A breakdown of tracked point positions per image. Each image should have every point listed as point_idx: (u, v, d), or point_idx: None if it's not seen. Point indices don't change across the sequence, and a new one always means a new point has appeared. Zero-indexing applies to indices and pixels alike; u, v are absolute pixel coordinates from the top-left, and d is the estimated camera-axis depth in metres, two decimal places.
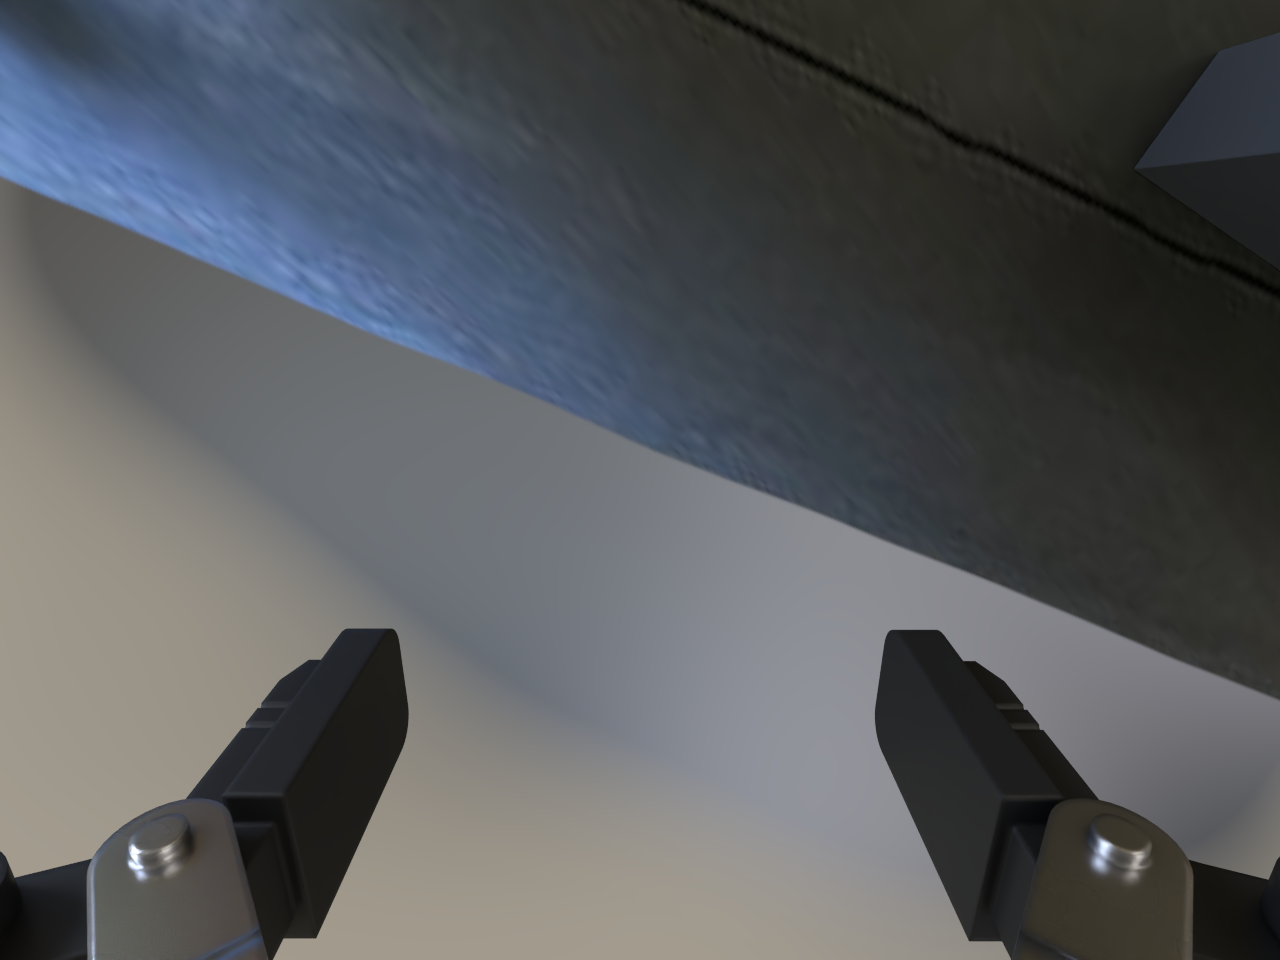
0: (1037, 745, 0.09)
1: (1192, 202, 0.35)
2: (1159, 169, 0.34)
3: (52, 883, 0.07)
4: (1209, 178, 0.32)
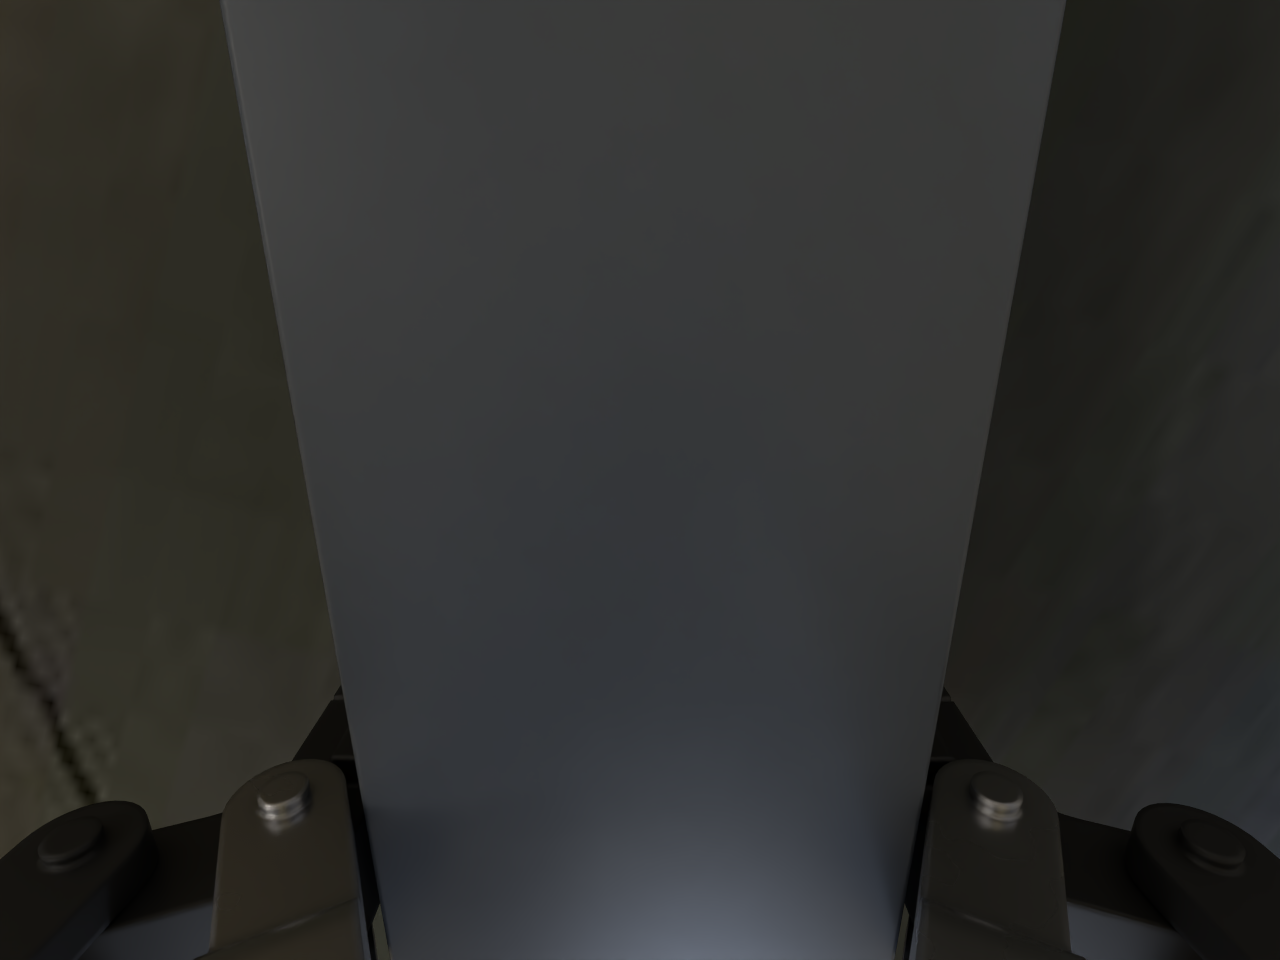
0: (945, 715, 0.09)
1: None
2: None
3: (180, 836, 0.08)
4: None
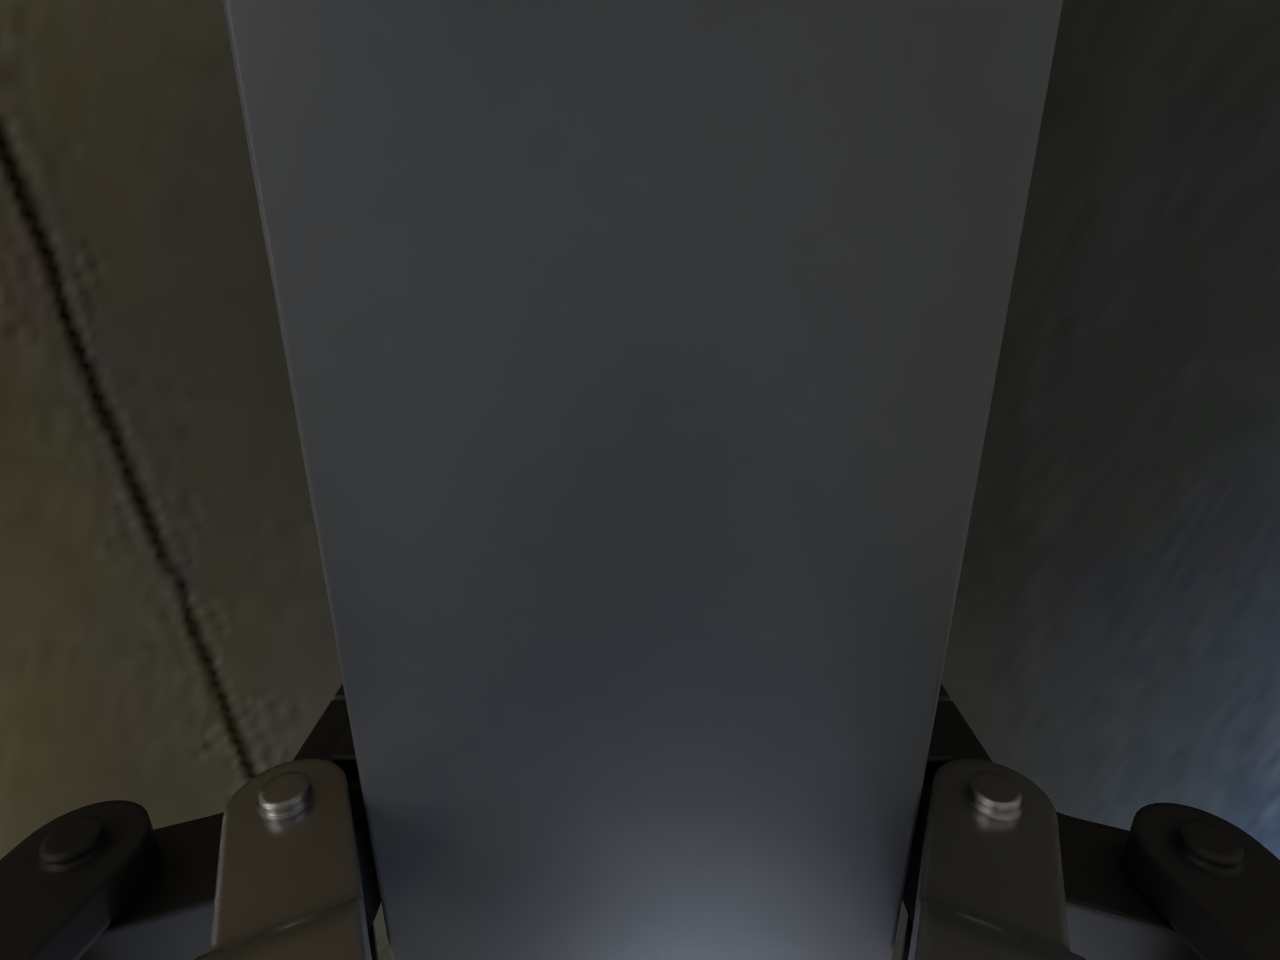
0: (944, 715, 0.09)
1: None
2: None
3: (181, 836, 0.08)
4: None
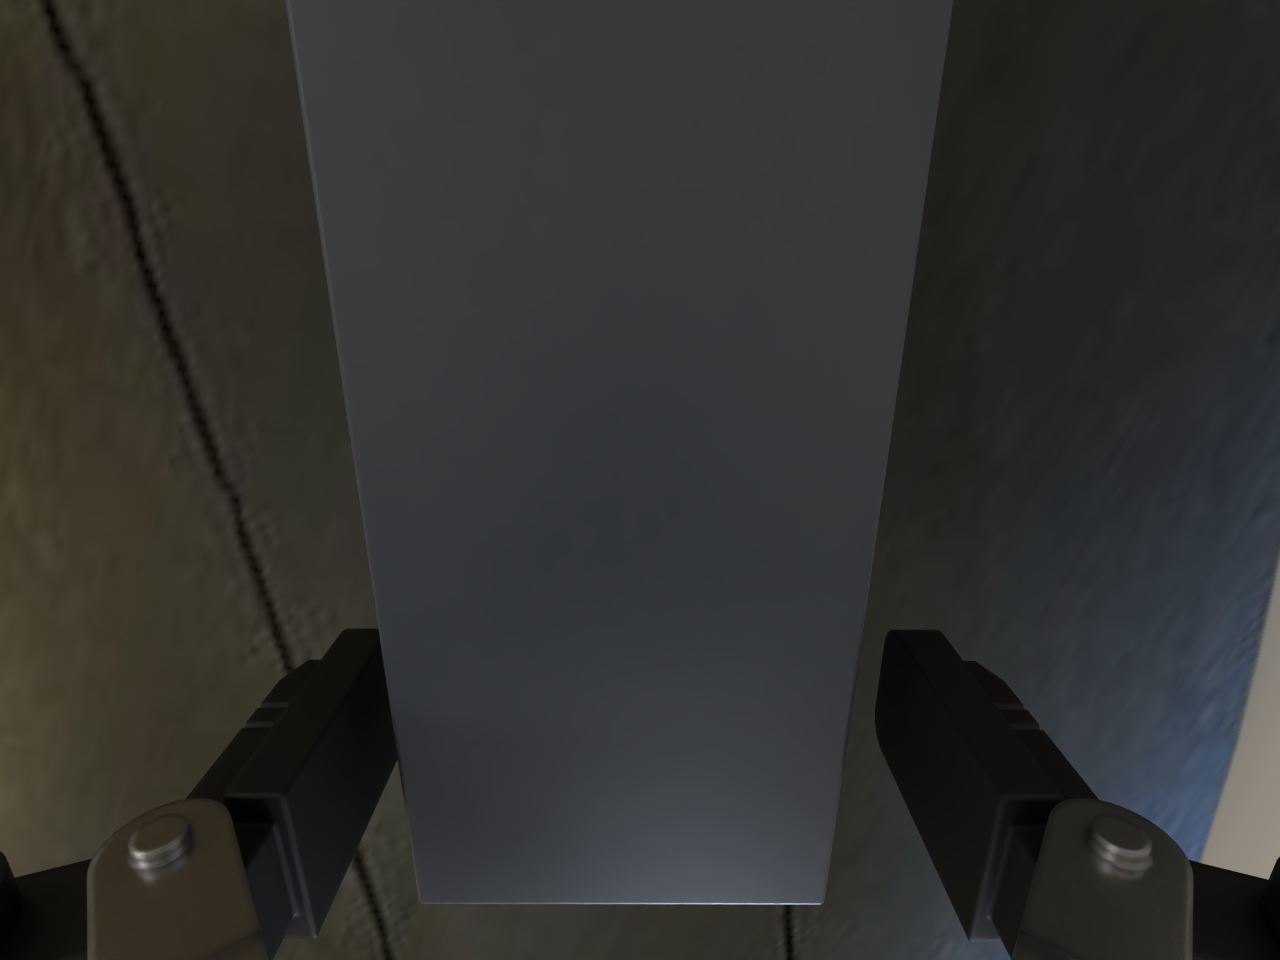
0: (1037, 745, 0.09)
1: None
2: None
3: (51, 883, 0.07)
4: None
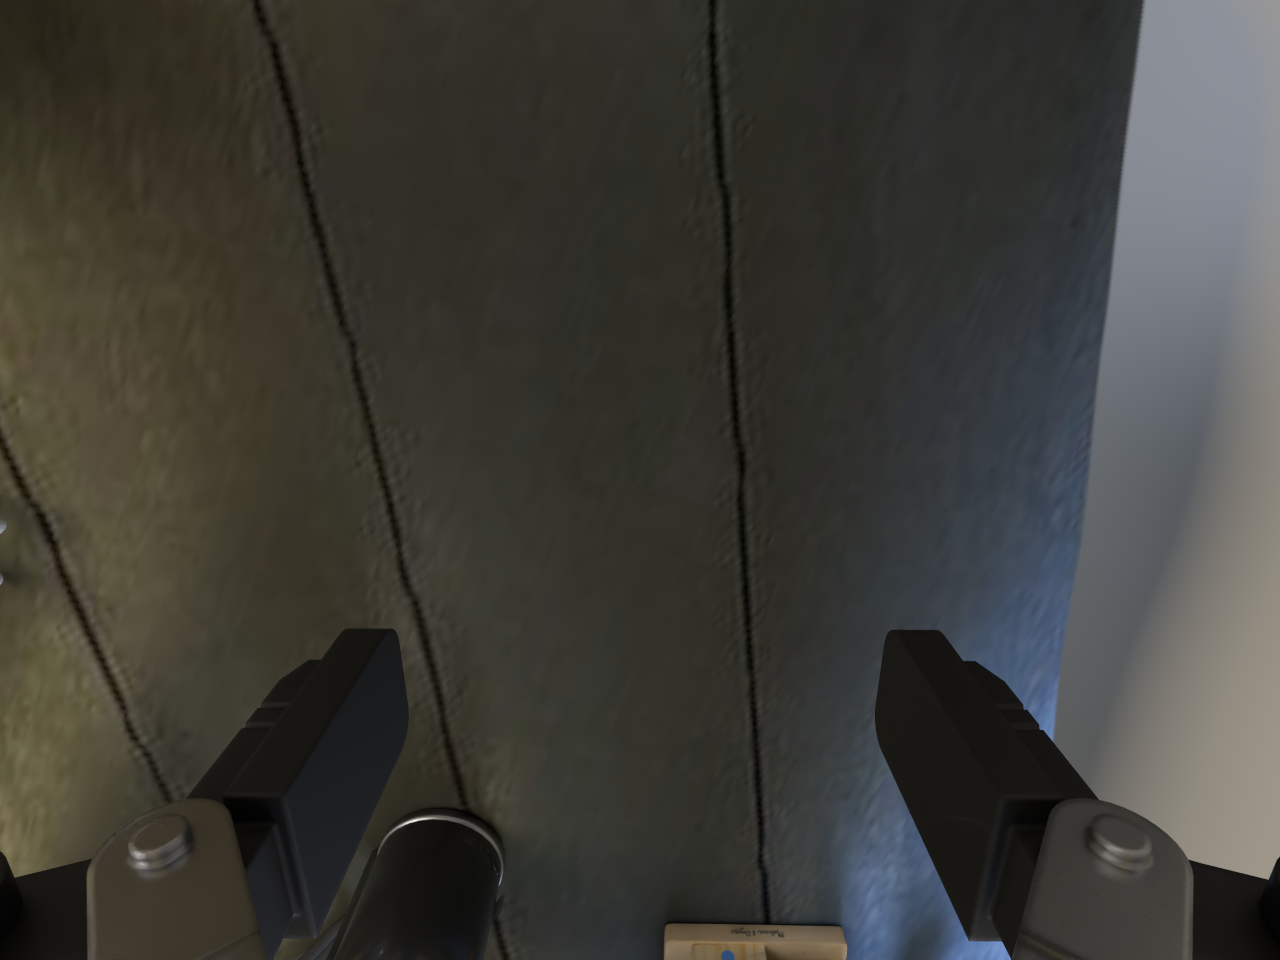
0: (1037, 745, 0.09)
1: None
2: None
3: (52, 883, 0.07)
4: None
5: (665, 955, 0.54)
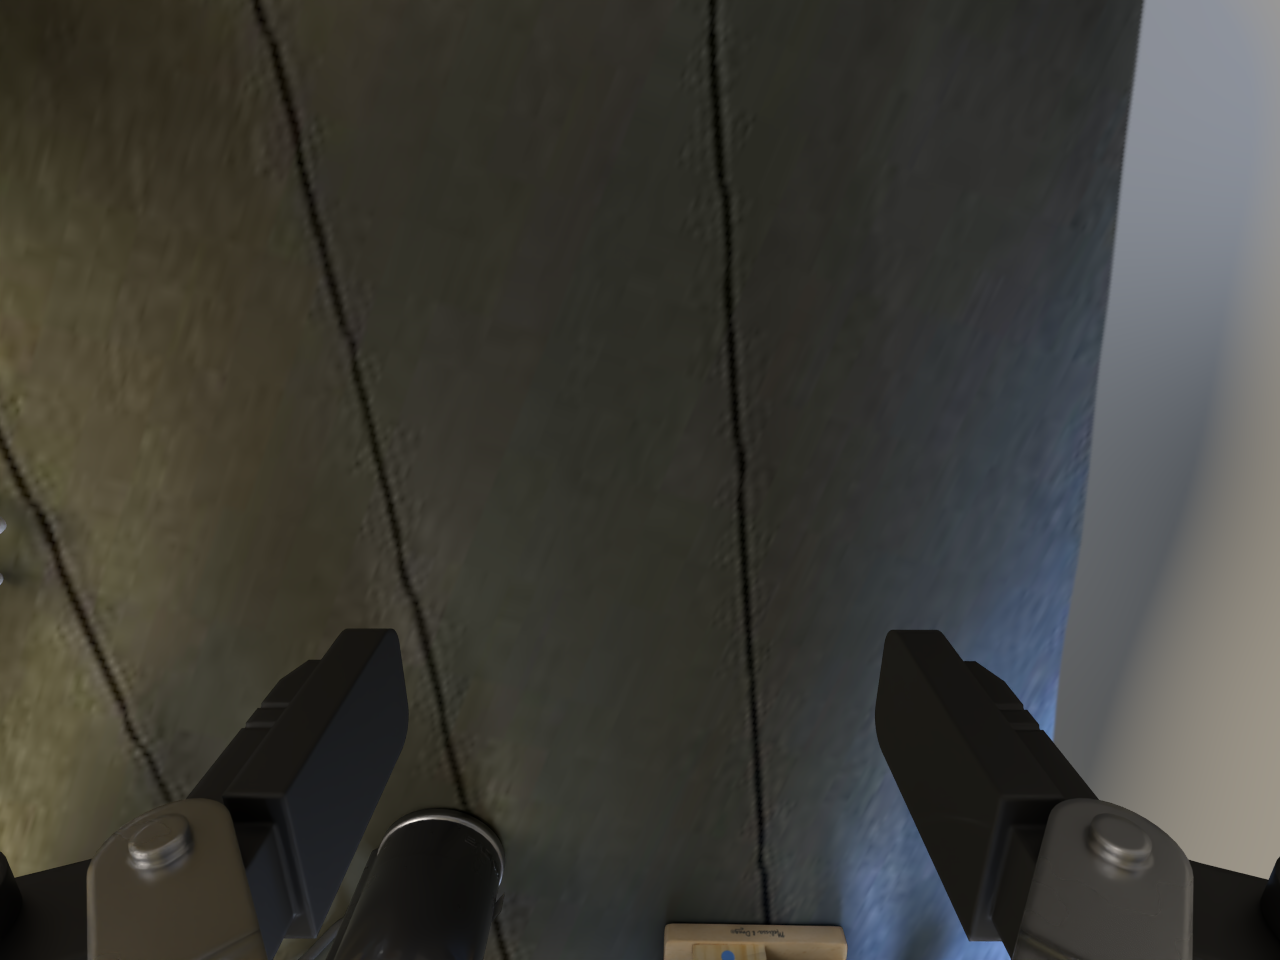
0: (1037, 745, 0.09)
1: None
2: None
3: (52, 883, 0.07)
4: None
5: (665, 955, 0.54)
